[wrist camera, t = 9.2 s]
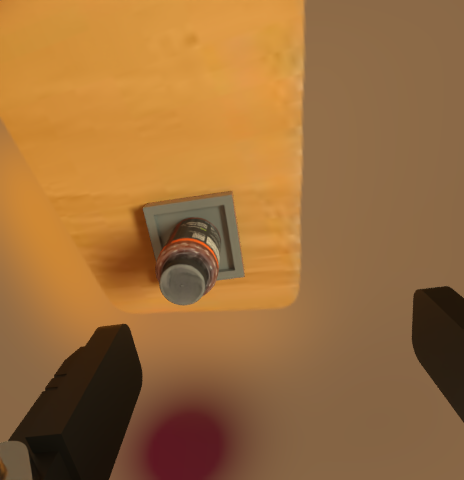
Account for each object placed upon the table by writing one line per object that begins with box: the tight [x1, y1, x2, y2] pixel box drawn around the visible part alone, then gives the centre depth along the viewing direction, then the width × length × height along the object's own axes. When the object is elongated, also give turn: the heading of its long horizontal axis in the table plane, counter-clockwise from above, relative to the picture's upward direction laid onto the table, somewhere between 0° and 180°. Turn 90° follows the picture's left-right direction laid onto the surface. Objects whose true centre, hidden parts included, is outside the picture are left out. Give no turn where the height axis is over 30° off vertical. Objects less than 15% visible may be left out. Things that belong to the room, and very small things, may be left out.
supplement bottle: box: [156, 217, 221, 305], centre depth 34 cm, size 6×6×11 cm
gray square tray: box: [143, 191, 245, 280], centre depth 40 cm, size 10×10×2 cm
